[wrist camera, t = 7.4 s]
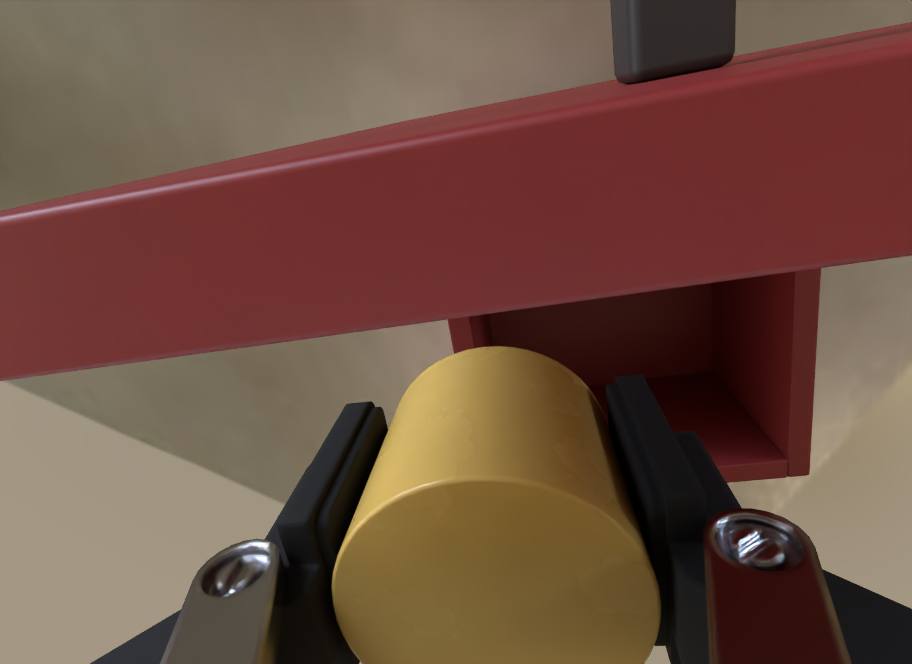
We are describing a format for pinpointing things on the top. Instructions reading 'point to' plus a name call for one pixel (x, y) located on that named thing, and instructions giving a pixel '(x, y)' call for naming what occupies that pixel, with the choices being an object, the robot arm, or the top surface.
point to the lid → (487, 204)
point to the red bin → (691, 360)
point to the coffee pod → (497, 526)
